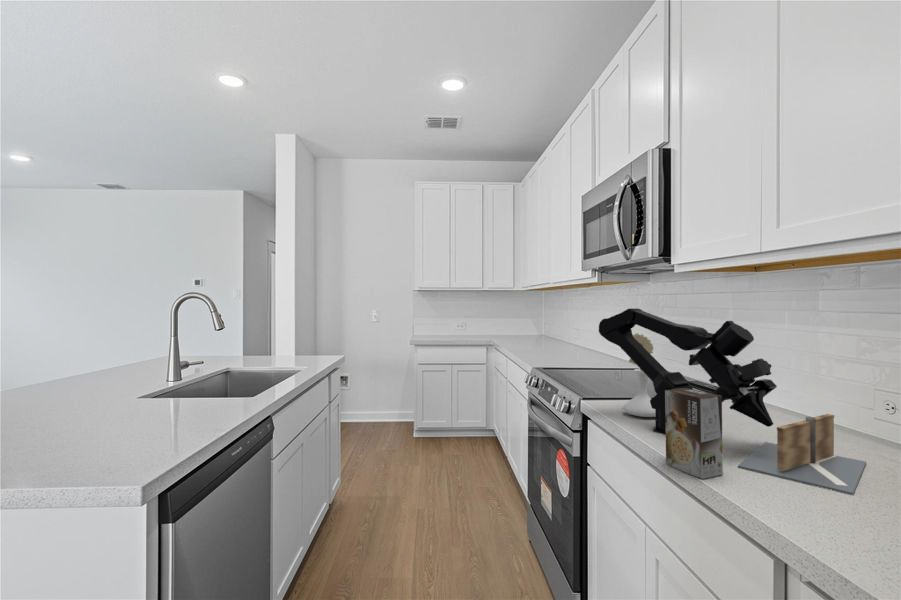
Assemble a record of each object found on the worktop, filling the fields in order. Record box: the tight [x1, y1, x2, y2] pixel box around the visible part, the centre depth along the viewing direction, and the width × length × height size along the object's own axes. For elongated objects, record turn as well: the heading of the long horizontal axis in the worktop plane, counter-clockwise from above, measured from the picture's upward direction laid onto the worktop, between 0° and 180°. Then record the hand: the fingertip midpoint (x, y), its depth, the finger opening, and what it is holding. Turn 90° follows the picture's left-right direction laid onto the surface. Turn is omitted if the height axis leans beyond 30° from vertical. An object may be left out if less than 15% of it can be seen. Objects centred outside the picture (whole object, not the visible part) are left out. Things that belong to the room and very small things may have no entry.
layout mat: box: [737, 441, 867, 496], centre depth 94 cm, size 18×23×1 cm
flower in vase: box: [622, 332, 655, 418], centre depth 136 cm, size 13×11×25 cm
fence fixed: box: [805, 413, 835, 463], centre depth 97 cm, size 2×10×10 cm, turn 118°
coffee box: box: [665, 388, 724, 480], centre depth 92 cm, size 9×6×16 cm
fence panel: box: [776, 420, 811, 471], centre depth 92 cm, size 11×1×9 cm, turn 118°
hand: (770, 425), depth 97 cm, fingers closed
